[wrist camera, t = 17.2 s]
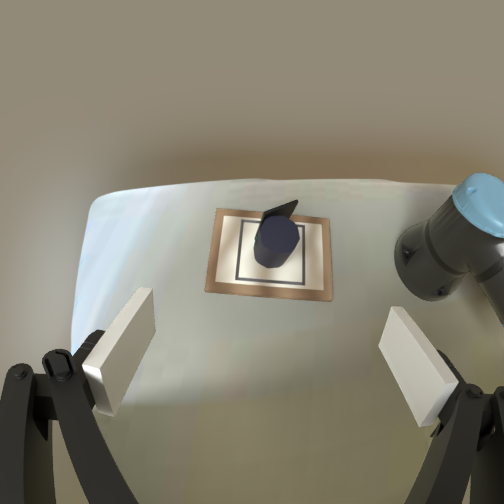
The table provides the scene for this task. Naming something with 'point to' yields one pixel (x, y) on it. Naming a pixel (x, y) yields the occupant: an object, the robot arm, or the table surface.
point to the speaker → (276, 236)
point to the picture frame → (259, 277)
